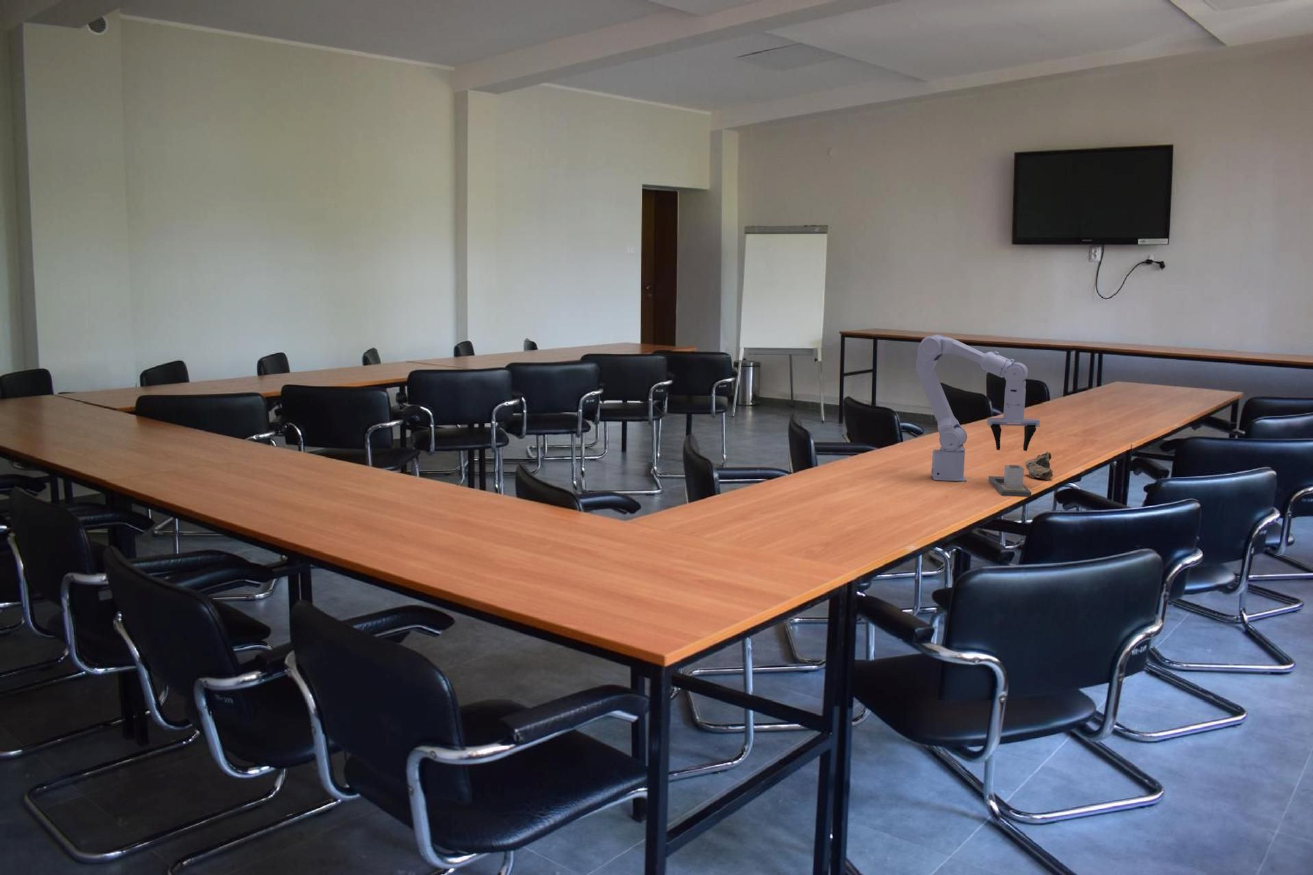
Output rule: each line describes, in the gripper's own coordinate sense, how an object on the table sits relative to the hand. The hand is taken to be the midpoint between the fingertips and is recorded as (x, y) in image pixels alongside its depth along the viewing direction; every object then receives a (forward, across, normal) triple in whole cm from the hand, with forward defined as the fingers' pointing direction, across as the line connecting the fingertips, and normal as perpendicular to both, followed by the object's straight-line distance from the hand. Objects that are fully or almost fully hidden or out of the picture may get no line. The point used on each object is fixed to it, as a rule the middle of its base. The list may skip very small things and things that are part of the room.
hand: (1011, 450), depth 305 cm
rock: (+11, +11, +13) cm, 20 cm away
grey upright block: (+9, -1, -11) cm, 14 cm away
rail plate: (+10, -1, -5) cm, 12 cm away
